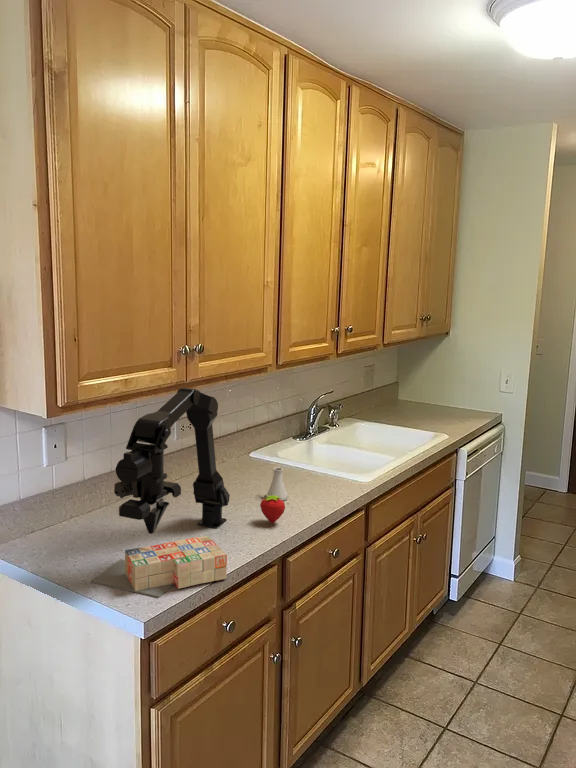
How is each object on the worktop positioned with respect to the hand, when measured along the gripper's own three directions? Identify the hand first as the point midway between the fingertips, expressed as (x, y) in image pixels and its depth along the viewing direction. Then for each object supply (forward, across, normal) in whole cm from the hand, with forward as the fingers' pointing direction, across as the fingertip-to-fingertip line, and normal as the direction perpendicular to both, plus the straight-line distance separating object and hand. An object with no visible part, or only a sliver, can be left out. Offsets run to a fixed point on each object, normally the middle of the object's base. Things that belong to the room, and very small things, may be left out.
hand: (151, 533), depth 155 cm
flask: (+10, -60, +10) cm, 62 cm away
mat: (+10, +4, -1) cm, 11 cm away
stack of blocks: (+7, -4, +2) cm, 8 cm away
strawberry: (+10, -40, +16) cm, 44 cm away
